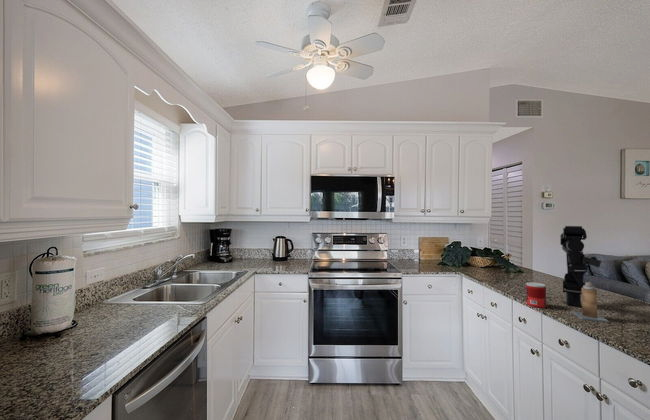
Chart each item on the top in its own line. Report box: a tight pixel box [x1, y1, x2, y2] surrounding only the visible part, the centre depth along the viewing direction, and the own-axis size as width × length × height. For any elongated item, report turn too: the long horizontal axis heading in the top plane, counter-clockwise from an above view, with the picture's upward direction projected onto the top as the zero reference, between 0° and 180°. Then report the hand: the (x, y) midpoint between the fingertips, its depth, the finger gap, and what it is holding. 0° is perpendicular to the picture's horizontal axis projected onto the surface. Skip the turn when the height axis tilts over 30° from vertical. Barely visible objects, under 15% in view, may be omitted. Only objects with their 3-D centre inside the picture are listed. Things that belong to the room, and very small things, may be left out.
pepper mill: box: [581, 281, 598, 318], centre depth 126 cm, size 5×5×15 cm
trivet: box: [572, 310, 609, 323], centre depth 126 cm, size 9×9×1 cm
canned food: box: [525, 281, 547, 309], centre depth 143 cm, size 8×8×11 cm
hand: (580, 284), depth 133 cm, fingers open, 9 cm apart
